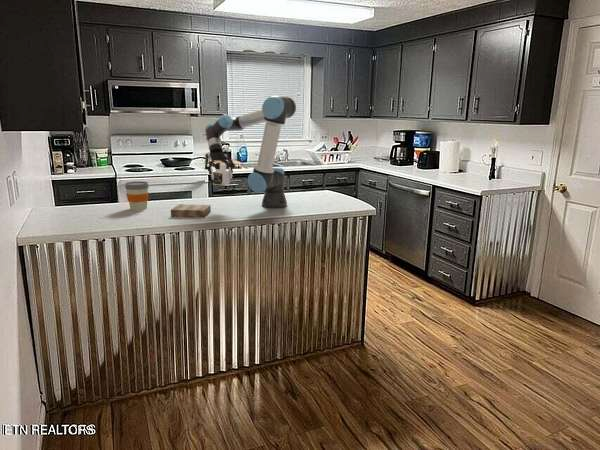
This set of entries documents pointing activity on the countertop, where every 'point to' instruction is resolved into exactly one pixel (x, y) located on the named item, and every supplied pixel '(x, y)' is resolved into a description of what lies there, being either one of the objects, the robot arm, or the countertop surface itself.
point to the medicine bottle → (221, 174)
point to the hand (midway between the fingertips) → (222, 178)
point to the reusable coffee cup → (137, 194)
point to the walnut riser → (191, 211)
